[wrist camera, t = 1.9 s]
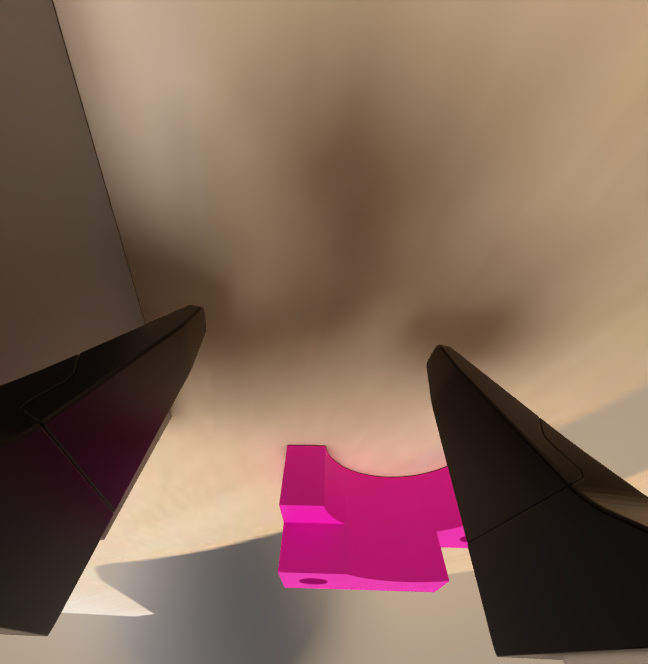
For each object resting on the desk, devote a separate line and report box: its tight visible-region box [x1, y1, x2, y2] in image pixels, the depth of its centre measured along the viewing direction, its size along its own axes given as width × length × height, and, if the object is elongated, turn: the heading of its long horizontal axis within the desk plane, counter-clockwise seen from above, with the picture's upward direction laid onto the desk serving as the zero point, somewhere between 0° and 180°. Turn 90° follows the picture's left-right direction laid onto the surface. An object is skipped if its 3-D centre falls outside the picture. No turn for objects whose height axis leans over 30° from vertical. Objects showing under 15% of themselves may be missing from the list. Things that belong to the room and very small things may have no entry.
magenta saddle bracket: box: [278, 445, 468, 592], centre depth 19 cm, size 15×6×8 cm
